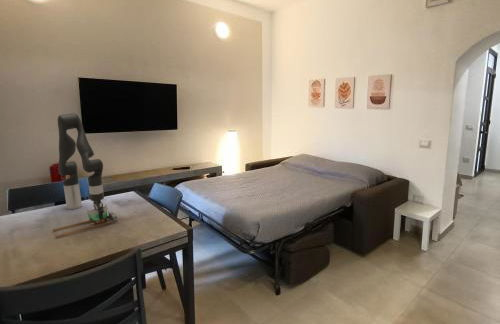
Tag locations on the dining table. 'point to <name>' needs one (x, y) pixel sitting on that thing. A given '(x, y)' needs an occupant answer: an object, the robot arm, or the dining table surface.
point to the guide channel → (111, 216)
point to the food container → (97, 216)
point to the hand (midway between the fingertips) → (99, 216)
